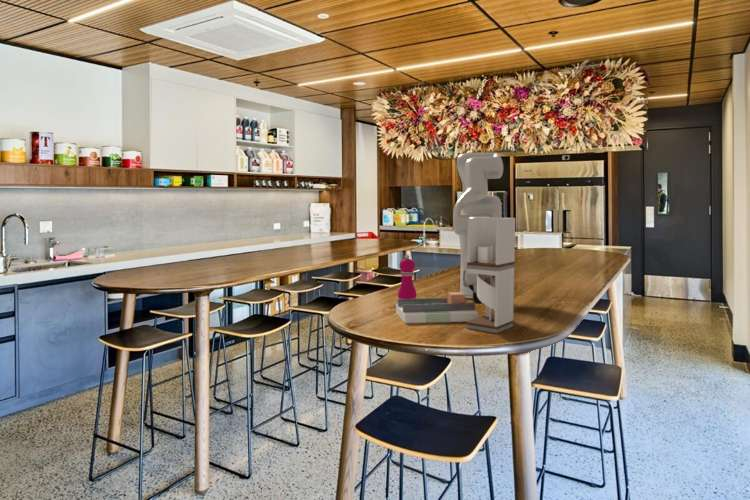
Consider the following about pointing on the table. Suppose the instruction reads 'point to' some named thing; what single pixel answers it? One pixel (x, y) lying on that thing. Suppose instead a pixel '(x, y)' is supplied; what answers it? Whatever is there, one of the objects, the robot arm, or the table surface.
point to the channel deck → (436, 316)
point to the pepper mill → (407, 279)
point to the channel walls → (433, 305)
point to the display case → (492, 270)
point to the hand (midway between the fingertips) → (477, 303)
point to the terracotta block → (456, 297)
